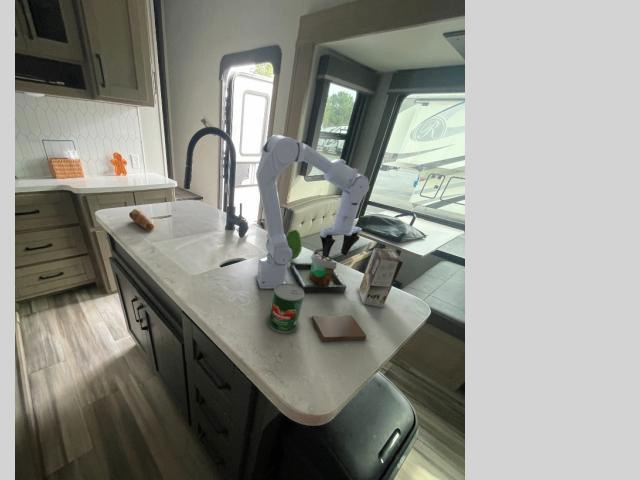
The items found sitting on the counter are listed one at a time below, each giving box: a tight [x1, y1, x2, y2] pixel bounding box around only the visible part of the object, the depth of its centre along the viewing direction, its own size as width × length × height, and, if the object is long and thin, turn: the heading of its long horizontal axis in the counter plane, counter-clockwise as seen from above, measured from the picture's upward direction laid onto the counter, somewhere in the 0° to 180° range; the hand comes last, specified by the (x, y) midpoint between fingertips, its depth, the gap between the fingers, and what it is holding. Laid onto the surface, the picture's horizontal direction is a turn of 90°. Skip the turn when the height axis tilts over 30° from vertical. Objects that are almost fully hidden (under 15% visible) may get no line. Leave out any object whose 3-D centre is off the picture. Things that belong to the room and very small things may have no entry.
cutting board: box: [311, 314, 367, 342], centre depth 74 cm, size 12×9×2 cm
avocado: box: [285, 228, 303, 260], centre depth 107 cm, size 8×8×12 cm
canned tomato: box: [268, 282, 305, 334], centre depth 72 cm, size 8×8×11 cm
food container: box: [309, 247, 337, 285], centre depth 94 cm, size 12×6×10 cm, turn 5°
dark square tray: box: [289, 262, 347, 294], centre depth 96 cm, size 15×17×2 cm
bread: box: [128, 208, 155, 232], centre depth 129 cm, size 6×19×6 cm, turn 36°
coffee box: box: [358, 247, 404, 308], centre depth 85 cm, size 9×6×16 cm
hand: (334, 255), depth 91 cm, fingers open, 7 cm apart
